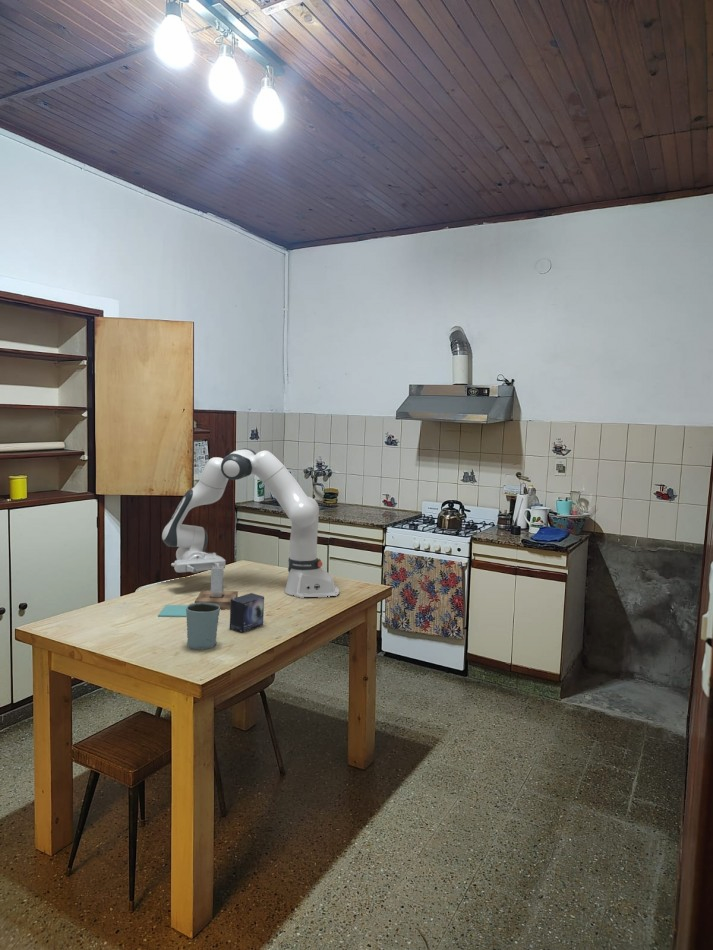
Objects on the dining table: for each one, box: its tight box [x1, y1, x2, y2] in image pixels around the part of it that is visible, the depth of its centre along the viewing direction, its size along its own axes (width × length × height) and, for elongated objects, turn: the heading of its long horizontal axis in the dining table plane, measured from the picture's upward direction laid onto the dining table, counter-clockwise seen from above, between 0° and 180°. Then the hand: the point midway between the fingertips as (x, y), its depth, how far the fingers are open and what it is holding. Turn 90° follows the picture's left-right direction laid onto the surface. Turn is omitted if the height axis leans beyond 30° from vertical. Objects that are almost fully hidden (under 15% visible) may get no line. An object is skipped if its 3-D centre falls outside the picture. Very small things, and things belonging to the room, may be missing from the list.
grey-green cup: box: [186, 602, 221, 650], centre depth 190 cm, size 10×10×12 cm
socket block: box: [194, 590, 239, 611], centre depth 232 cm, size 14×14×3 cm
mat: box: [157, 604, 189, 618], centre depth 221 cm, size 12×12×1 cm
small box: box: [228, 592, 265, 634], centre depth 207 cm, size 11×6×10 cm, turn 147°
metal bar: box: [210, 566, 225, 598], centre depth 231 cm, size 4×4×14 cm
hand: (206, 569), depth 241 cm, fingers open, 8 cm apart
